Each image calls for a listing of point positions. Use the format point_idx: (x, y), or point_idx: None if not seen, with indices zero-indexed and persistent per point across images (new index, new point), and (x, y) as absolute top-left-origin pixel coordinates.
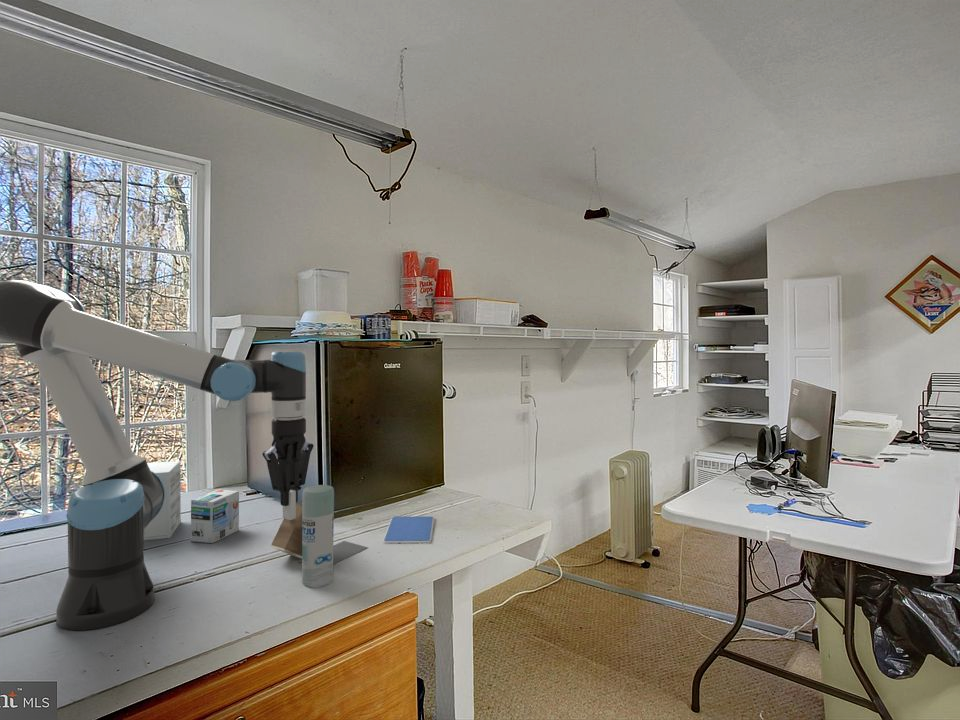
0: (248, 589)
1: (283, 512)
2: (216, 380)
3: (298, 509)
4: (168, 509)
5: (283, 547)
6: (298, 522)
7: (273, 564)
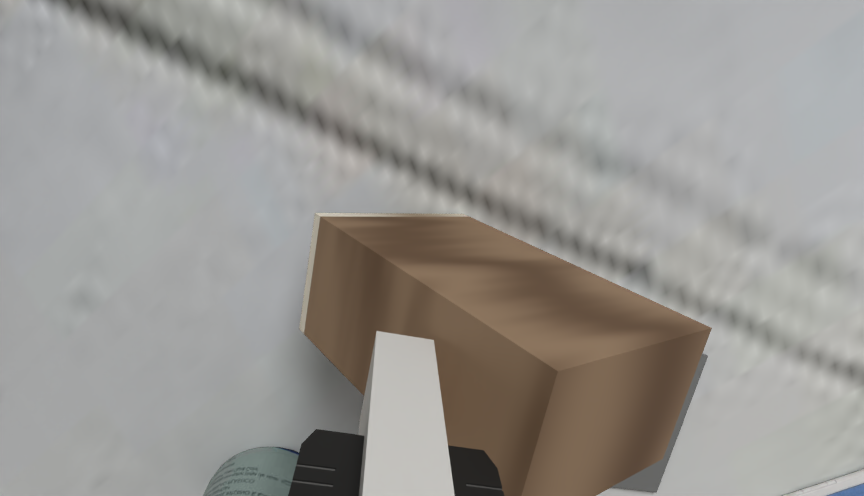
0: (56, 297)
1: (372, 366)
2: None
3: None
4: None
5: (308, 324)
6: None
7: (327, 212)
